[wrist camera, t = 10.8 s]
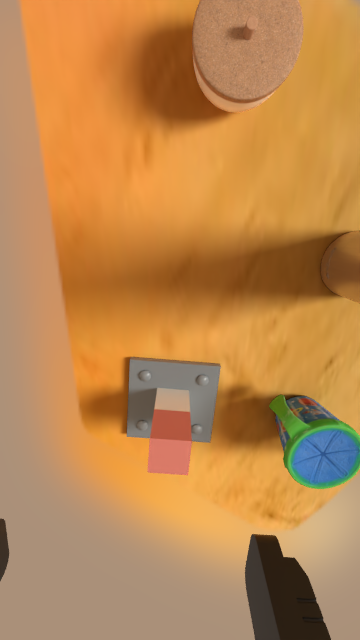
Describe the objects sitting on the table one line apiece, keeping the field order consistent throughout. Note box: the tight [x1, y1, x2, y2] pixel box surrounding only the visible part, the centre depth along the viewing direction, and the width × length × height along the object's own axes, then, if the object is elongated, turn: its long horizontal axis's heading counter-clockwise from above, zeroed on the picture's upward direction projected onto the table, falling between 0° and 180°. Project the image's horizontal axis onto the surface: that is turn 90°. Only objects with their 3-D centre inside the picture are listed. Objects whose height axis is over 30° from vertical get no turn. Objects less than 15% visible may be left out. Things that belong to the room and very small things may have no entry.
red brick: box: [148, 409, 192, 475], centre depth 39 cm, size 5×5×6 cm
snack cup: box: [269, 395, 360, 489], centre depth 44 cm, size 16×10×10 cm
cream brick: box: [154, 388, 190, 412], centre depth 44 cm, size 5×5×6 cm
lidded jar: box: [192, 0, 303, 113], centre depth 31 cm, size 11×11×9 cm
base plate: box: [127, 357, 221, 442], centre depth 48 cm, size 14×14×1 cm
